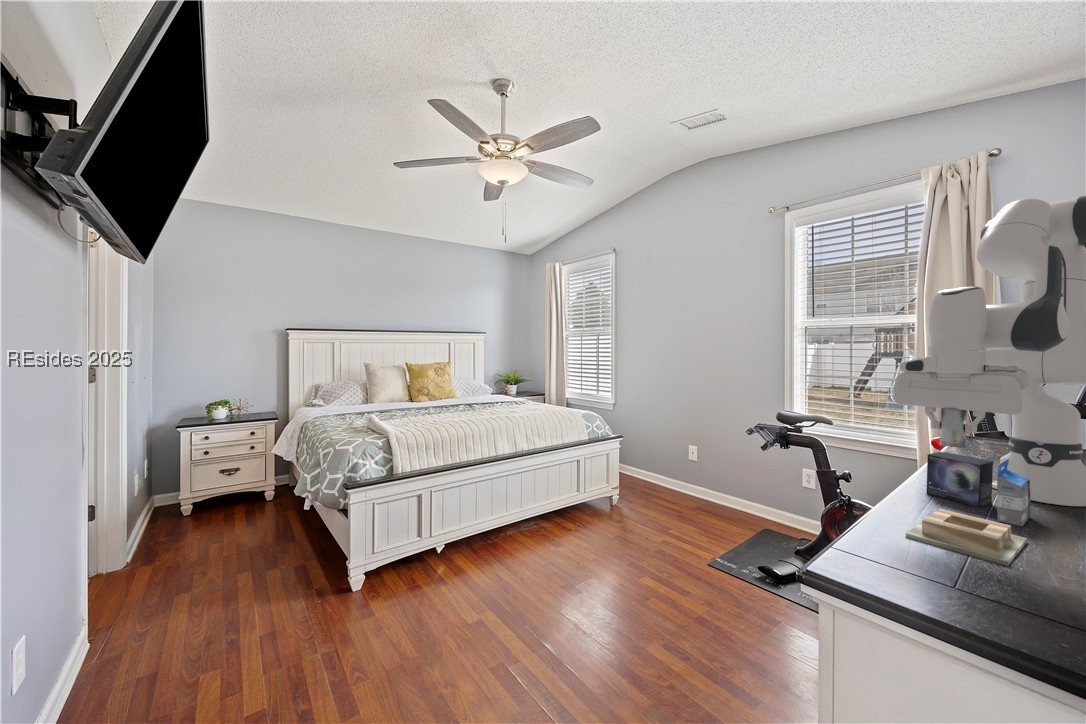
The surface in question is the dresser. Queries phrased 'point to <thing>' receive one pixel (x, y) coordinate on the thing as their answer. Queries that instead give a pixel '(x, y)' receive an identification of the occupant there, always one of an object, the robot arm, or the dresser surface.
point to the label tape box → (1012, 496)
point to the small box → (960, 478)
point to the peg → (953, 427)
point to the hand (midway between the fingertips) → (953, 430)
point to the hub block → (969, 536)
